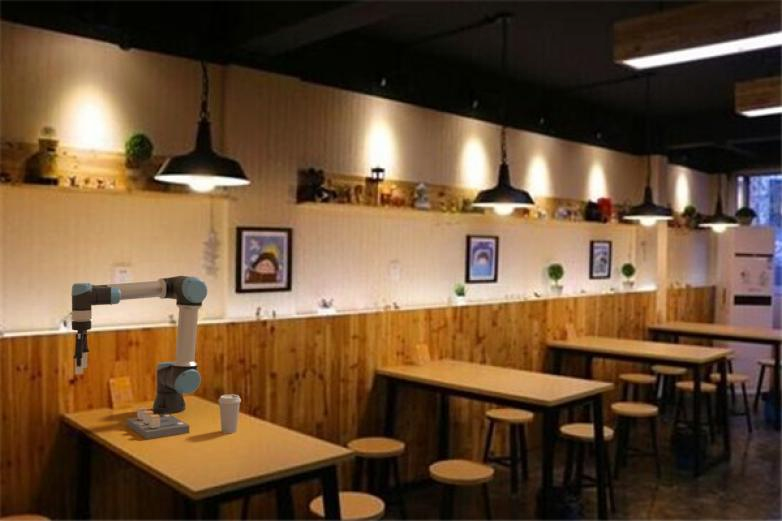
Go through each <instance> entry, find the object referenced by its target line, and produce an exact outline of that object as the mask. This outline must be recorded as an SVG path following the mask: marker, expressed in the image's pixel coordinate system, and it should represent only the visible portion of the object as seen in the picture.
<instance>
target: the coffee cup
mask: <svg viewBox="0 0 782 521" xmlns="http://www.w3.org/2000/svg"><path fill="white" fill-rule="evenodd" d="M217 402H218V404H219V414H220V417H219V418H220V430H221V433H224V434H235V433H236V432H237V431H238V423H239V414H240V406H241V402H242V399H241V398H240V395H238V394H233V393H232V394H223V395H220V396H219V398H218V401H217Z"/></svg>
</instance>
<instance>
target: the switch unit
mask: <svg viewBox="0 0 782 521" xmlns="http://www.w3.org/2000/svg"><path fill="white" fill-rule="evenodd" d="M157 415H159V416H160V427H157V428H151V427H150V426H149V424H145V423H144V422H143V420H139V419H138V418H137V416H136V417H128V418H126V427H128V428H130V429H131V430H132V431H134V432H136V433H137V434H138V435H139V436H141V437H142V438H144V439H146V440H152V439H158V438H163V437H164V438H165V437H166V438H167V437H171V436H177V435H183V434H184V435H185V434H189V433H190V425H189V424H187V423H185V422H184V421H182V420H180V419H179V418H177V417H175V416H173V415H172V414H171V413H157Z"/></svg>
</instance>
